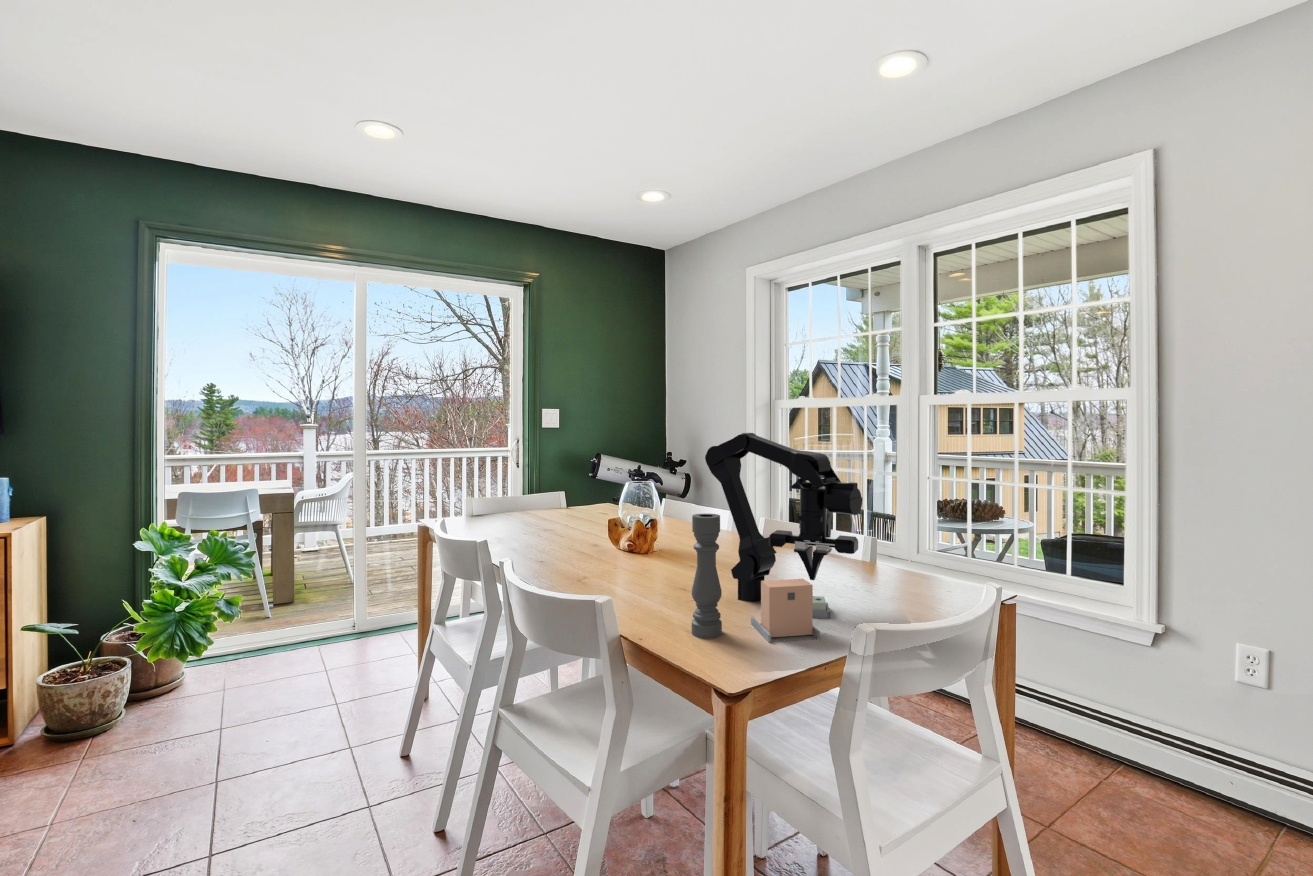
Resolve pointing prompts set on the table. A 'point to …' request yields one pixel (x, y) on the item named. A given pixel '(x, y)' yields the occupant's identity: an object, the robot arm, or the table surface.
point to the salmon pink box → (787, 607)
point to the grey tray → (786, 638)
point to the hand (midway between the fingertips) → (812, 579)
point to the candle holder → (706, 577)
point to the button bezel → (823, 613)
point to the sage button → (819, 603)
